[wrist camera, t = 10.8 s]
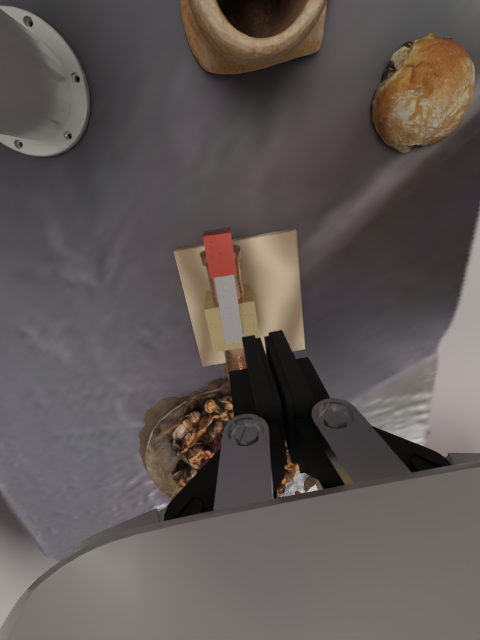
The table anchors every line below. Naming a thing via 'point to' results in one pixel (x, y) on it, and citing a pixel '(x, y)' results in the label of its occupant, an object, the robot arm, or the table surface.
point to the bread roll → (423, 93)
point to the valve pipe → (214, 321)
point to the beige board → (265, 282)
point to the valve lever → (224, 280)
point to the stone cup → (252, 32)
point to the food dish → (191, 437)
